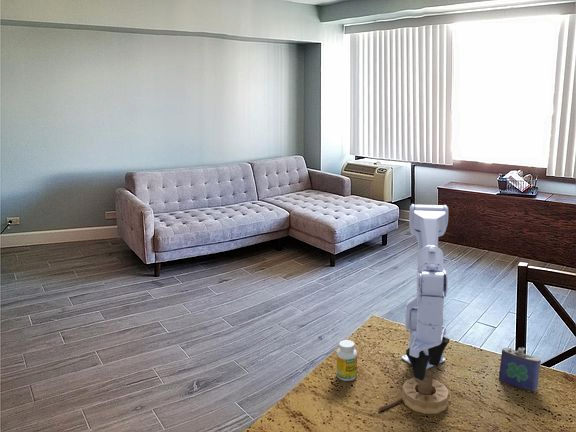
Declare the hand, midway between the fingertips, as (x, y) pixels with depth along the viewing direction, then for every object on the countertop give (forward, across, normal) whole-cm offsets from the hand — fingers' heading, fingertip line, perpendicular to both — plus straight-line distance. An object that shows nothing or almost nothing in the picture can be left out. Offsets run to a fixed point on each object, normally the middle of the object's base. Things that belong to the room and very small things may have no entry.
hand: (426, 371), depth 121 cm
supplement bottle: (+8, +4, -21) cm, 22 cm away
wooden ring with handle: (+8, +4, -1) cm, 9 cm away
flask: (+8, -21, +15) cm, 27 cm away
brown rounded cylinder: (+8, 0, 0) cm, 8 cm away
